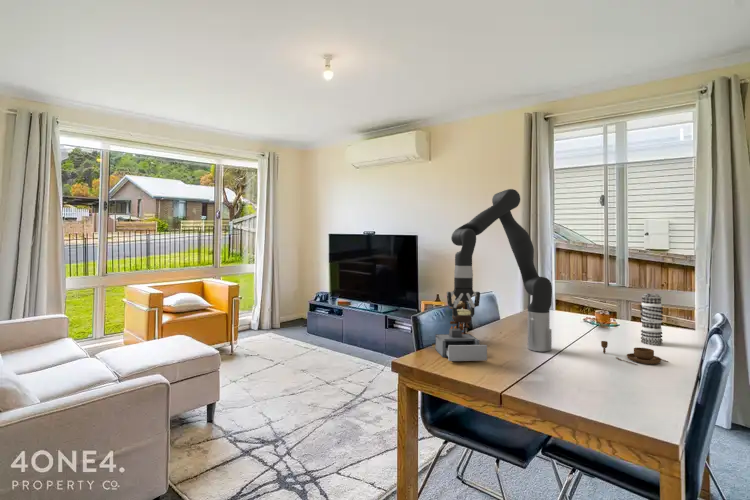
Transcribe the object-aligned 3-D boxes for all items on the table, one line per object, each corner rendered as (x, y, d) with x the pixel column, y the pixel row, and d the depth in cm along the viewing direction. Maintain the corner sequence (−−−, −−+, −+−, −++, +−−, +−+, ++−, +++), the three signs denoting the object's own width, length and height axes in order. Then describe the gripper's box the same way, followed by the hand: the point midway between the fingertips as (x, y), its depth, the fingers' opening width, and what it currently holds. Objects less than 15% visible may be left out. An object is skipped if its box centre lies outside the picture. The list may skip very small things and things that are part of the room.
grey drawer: (476, 352, 168) (476, 338, 168) (486, 360, 155) (486, 345, 156) (441, 352, 167) (441, 339, 167) (448, 361, 154) (448, 345, 154)
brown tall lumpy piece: (458, 346, 182) (458, 304, 183) (441, 342, 191) (441, 302, 192) (479, 342, 191) (479, 302, 192) (462, 338, 200) (462, 299, 200)
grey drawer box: (469, 349, 178) (469, 327, 178) (479, 356, 165) (479, 333, 165) (435, 349, 176) (435, 327, 176) (442, 357, 163) (442, 333, 164)
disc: (468, 312, 165) (468, 309, 165) (473, 315, 158) (473, 311, 158) (453, 313, 164) (453, 309, 164) (458, 315, 158) (458, 311, 158)
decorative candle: (642, 346, 183) (642, 294, 184) (637, 342, 192) (637, 292, 192) (666, 348, 180) (665, 295, 180) (659, 344, 189) (659, 293, 189)
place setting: (641, 366, 153) (641, 352, 153) (598, 354, 172) (598, 341, 172) (673, 363, 158) (673, 348, 158) (627, 351, 177) (627, 338, 177)
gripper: (477, 276, 166) (477, 315, 166) (444, 276, 165) (444, 315, 164) (483, 277, 158) (483, 318, 158) (448, 277, 157) (448, 318, 157)
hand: (463, 316), depth 161 cm, fingers closed on disc, 6 cm apart
